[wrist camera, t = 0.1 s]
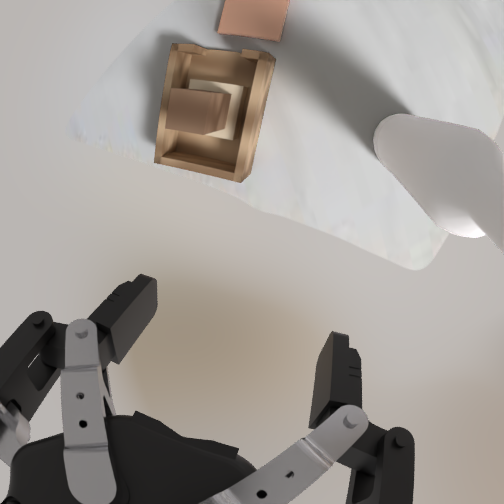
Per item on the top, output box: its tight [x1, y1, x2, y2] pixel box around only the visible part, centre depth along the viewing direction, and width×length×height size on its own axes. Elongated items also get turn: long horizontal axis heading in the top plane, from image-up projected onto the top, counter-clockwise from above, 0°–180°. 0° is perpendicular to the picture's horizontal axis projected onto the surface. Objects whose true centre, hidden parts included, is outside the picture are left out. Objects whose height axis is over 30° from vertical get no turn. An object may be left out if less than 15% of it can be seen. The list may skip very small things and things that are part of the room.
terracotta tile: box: [217, 0, 290, 42], centre depth 28 cm, size 8×8×1 cm
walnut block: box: [165, 88, 232, 135], centre depth 30 cm, size 4×4×7 cm
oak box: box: [154, 43, 276, 183], centre depth 34 cm, size 16×12×5 cm
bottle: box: [373, 113, 504, 254], centre depth 20 cm, size 8×8×30 cm
